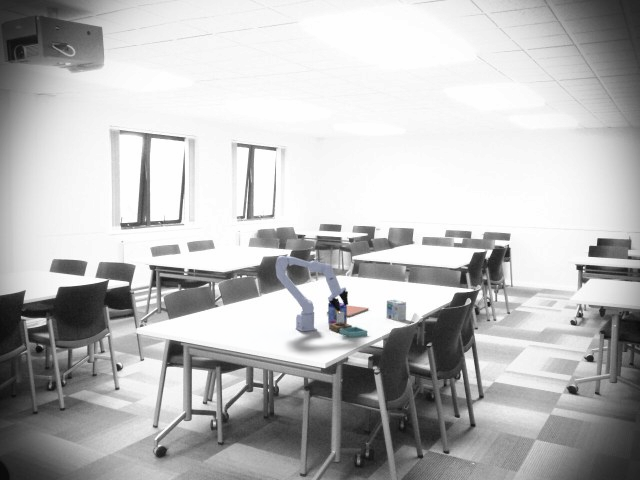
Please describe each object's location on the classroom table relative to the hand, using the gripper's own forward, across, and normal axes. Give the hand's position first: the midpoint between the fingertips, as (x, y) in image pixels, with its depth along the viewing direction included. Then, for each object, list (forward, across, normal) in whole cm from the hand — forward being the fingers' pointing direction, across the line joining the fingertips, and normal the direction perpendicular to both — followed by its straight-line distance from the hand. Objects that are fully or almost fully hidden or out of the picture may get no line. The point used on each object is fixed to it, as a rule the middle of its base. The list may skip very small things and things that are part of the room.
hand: (342, 307), depth 310 cm
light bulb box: (+25, +37, -3) cm, 45 cm away
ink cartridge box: (+11, +4, +13) cm, 17 cm away
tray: (+13, -9, -8) cm, 18 cm away
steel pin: (+10, -6, +3) cm, 12 cm away
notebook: (+15, +36, +30) cm, 49 cm away
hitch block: (+10, -6, +3) cm, 12 cm away
